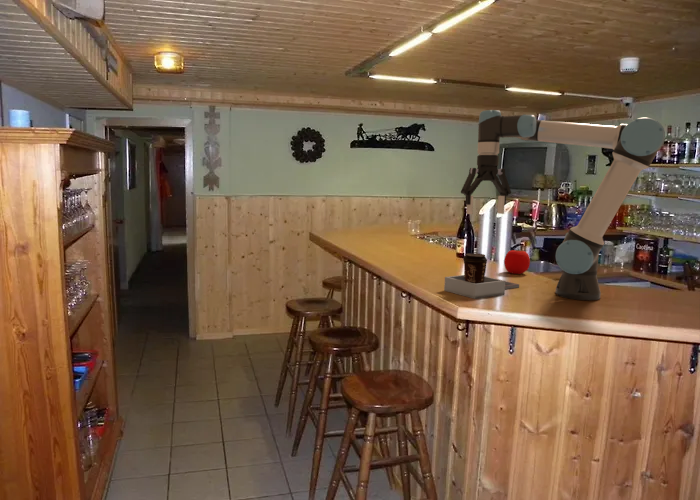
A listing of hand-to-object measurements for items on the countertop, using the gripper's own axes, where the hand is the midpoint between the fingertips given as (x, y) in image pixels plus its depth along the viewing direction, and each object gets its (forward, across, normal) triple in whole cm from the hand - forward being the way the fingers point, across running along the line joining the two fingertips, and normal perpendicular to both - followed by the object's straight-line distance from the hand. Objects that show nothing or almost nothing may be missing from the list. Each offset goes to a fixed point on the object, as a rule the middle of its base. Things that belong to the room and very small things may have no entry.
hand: (485, 213), depth 198 cm
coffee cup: (+28, +6, +3) cm, 28 cm away
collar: (+28, -8, -5) cm, 30 cm away
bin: (+28, +6, +4) cm, 29 cm away
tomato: (+28, -36, -26) cm, 53 cm away
